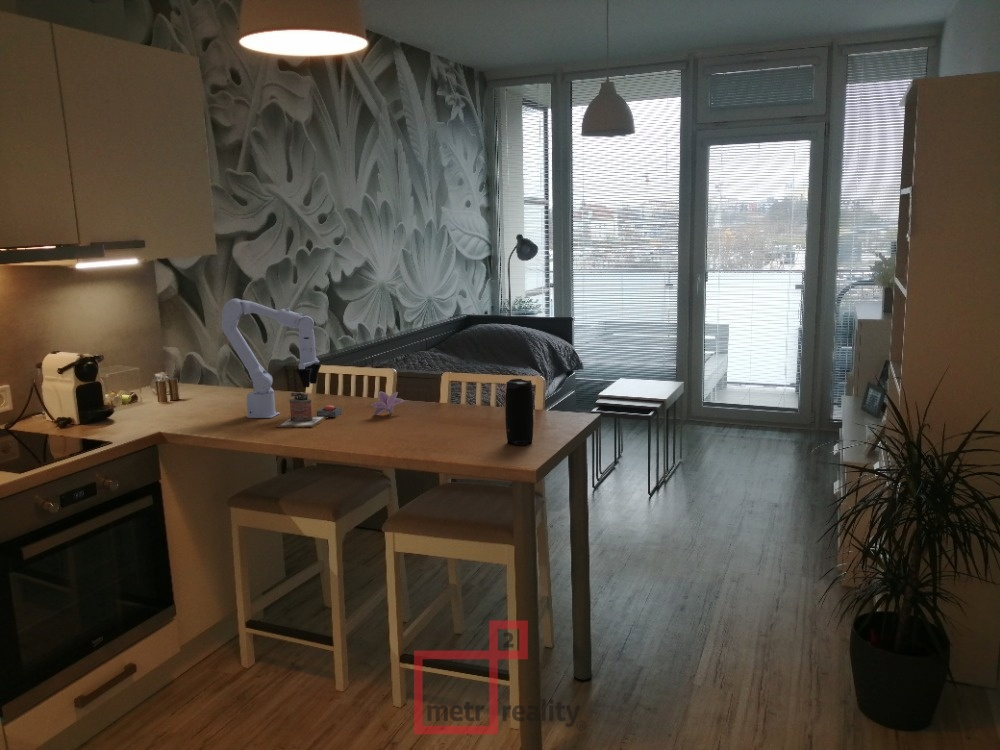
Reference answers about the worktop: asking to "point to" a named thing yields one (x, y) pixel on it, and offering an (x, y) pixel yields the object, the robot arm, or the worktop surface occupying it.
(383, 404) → the lily
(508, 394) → the portable speaker
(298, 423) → the board
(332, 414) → the button housing
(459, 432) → the worktop surface
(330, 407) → the button
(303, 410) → the lighter
